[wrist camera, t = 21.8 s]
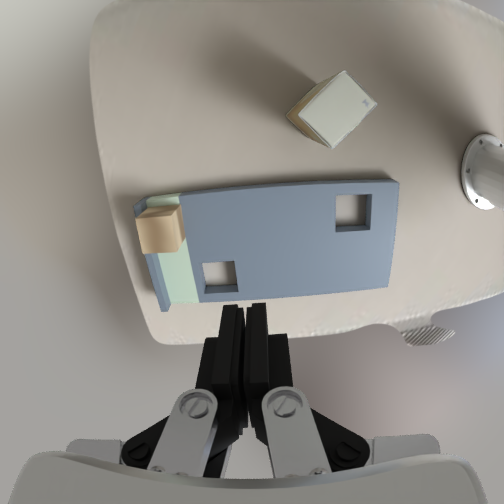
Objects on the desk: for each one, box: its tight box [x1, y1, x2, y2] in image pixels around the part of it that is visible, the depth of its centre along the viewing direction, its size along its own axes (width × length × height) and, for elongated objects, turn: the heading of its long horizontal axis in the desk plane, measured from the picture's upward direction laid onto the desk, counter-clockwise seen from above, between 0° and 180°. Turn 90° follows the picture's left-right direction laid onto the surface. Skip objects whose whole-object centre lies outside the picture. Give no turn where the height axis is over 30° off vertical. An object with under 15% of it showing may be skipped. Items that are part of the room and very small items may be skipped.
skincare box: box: [286, 70, 377, 149], centre depth 26 cm, size 6×4×12 cm
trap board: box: [133, 179, 399, 312], centre depth 37 cm, size 34×16×4 cm, turn 95°
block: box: [135, 204, 185, 254], centre depth 34 cm, size 4×4×4 cm
